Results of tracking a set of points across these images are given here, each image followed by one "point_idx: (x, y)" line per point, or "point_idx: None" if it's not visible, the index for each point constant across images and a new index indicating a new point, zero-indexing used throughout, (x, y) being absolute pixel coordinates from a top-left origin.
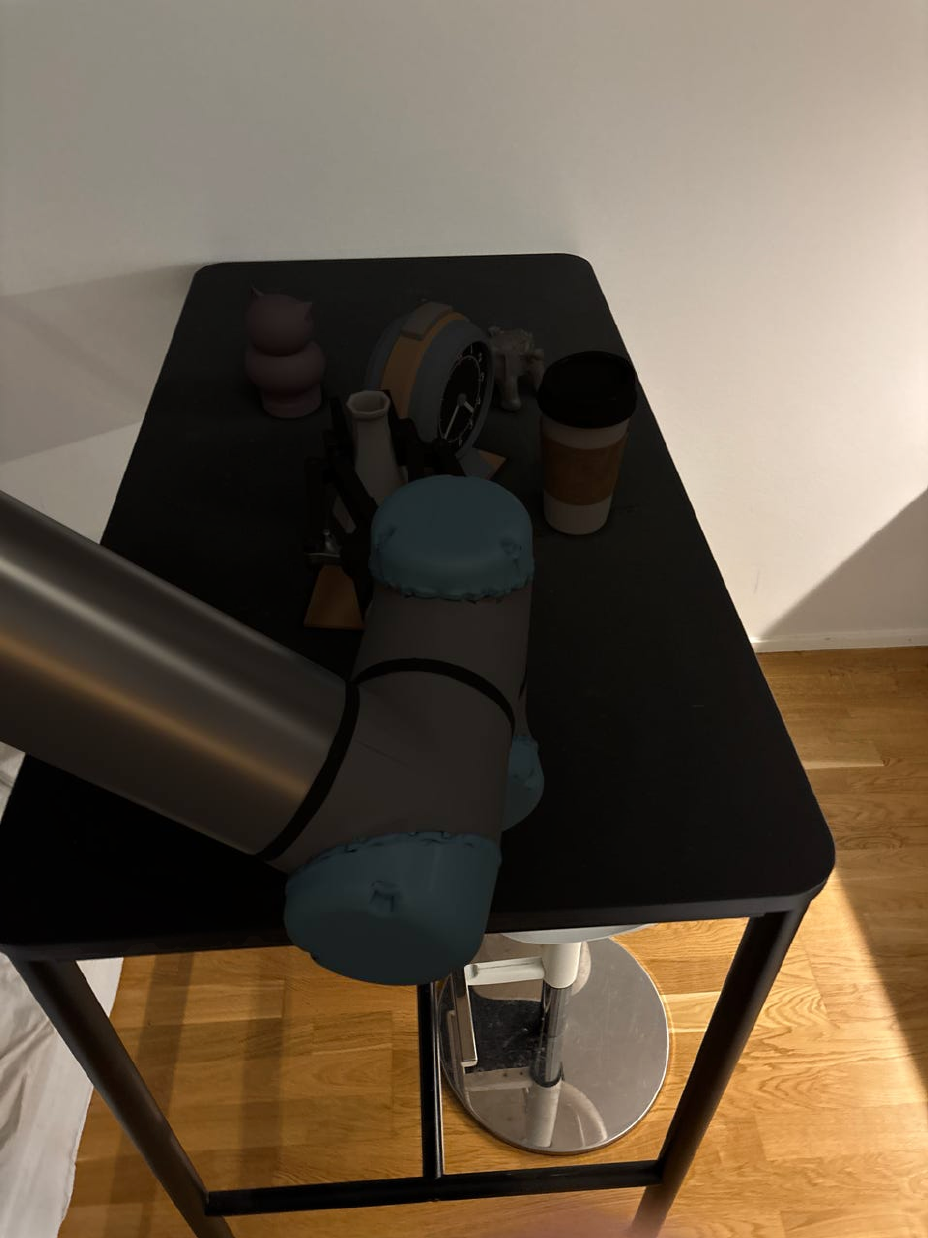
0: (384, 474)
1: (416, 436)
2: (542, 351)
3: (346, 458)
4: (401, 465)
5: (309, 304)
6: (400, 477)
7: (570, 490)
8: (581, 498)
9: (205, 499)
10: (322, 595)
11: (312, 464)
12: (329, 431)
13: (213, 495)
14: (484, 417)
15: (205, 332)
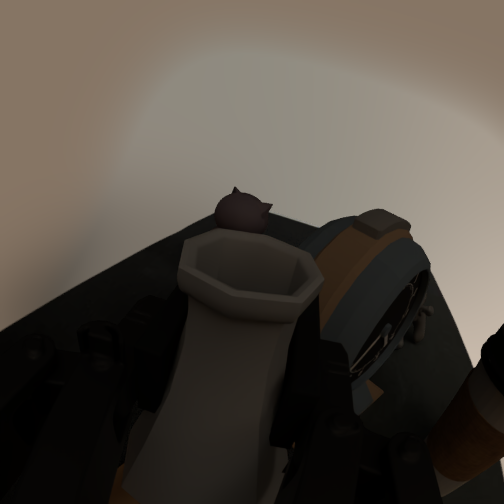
0: (222, 458)
1: (346, 402)
2: (433, 310)
3: (109, 394)
4: (277, 446)
5: (269, 205)
6: (261, 469)
7: (460, 468)
8: (463, 476)
9: (111, 317)
10: (120, 481)
11: (25, 356)
12: (157, 302)
13: (119, 317)
14: (389, 353)
15: (208, 224)
